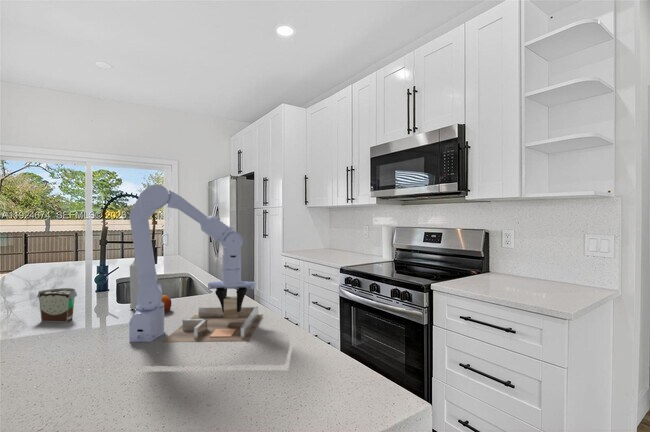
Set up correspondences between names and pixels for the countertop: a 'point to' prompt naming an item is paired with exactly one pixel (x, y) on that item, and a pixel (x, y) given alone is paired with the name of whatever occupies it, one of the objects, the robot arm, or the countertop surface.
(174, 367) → the countertop surface
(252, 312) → the channel walls
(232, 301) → the maple block
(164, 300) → the fruit
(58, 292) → the food container
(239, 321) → the walnut board
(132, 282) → the bottle
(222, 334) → the pad
